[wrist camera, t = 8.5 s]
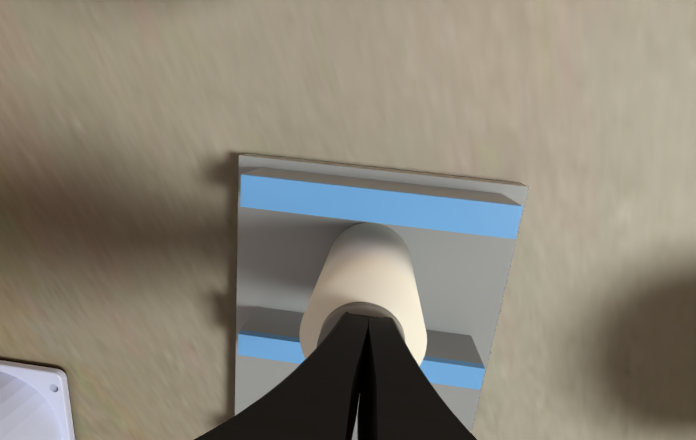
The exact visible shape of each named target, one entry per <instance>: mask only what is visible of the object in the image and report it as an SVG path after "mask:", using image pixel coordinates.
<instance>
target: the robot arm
mask: <svg viewBox="0 0 696 440" xmlns="http://www.w3.org/2000/svg"><path fill="white" fill-rule="evenodd" d="M368 320H369V322H368ZM359 394H360V395H359ZM358 402H359V405H358ZM357 410H358V415H357ZM356 417H357V440H477V439H476V438H475V437H474V436H473V435H472V434H471V433H470V432H469V431H468V429H467V428H466V427H465V426H464V425H463V424H462V423H461V421H460V420H459V419H458V418H457V417H456V416H455V415H454V413H453V412H452V411H451V410H450V409H449V407H448V406H447V405H446V404H445V402H444V401H443V400H442V398H441V397H440V396H439V394H438V393H437V392H436V390H435V389H434V387H433V386H432V385H431V383H430V382H429V380H428V379H427V377H426V376H425V374H424V373H423V371H422V370H421V368H420V367H419V365H418V363H417V362H416V360H415V359H414V357H413V355H412V354H411V352H410V350H409V348H408V347H407V345H406V343H405V341H404V339H403V337H402V335H401V333H400V331H399V329H398V327H397V325H396V323H395V321H394V320H393V318H391V317H381V318H380V317H373V316H365V315H358V314H351V313H348V312H347V311H346V312H345V313H344V314H343V315H342V316H341V317H340V319H339V320H338V322H337V323H336V325H335V326H334V328H333V329H332V330H331V331H330V333H329V334H328V335H327V336H326V338H325V339H324V340H323V341H322V342H321V343H320V344H319V346H318V347H317V348H316V349H315V350H314V351H313V352H312V353H311V354H310V355H309V356H308V357H307V358H306V359H305V360H304V361H303V362H302V363H301V364H300V365H299V366H298V367H297V368H296V369H295V370H294V371H293V372H292V373H291V374H290V375H288V376H287V377H286V378H285V379H284V380H283V381H282V382H280V383H279V384H278V385H277V386H275V387H274V388H273V389H272V390H270V391H269V392H268V393H267V394H265V395H264V396H263V397H261V398H260V399H258V400H257V401H256V402H254V403H253V404H251V405H250V406H248V407H247V408H246V409H244V410H243V411H241V412H240V413H238V414H237V415H235V416H234V417H232V418H231V419H229V420H228V421H226V422H224V423H223V424H221V425H219V426H218V427H216V428H214V429H212V430H211V431H209V432H207V433H205V434H204V435H202V436H200V437H198V438H196V439H194V440H352V437H353V432H354V427H355V422H356ZM0 440H75V435H74V428H73V420H72V413H71V406H70V398H69V391H68V383H67V376H66V374H65V373H64V372H63V371H62V370H60V369H55V368H49V367H42V366H35V365H29V364H22V363H16V362H9V361H3V360H0Z"/></svg>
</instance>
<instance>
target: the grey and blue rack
mask: <svg viewBox="0 0 696 440" xmlns="http://www.w3.org/2000/svg"><path fill="white" fill-rule="evenodd" d="M528 190H529V186H526V185H524V184H522V183H517V182H507V181H498V180H489V179H480V178H471V177H461V176H452V175H443V174H434V173H425V172H415V171H406V170H397V169H388V168H378V167H369V166H360V165H351V164H342V163H332V162H323V161H314V160H305V159H296V158H286V157H277V156H268V155H259V154H250V153H246V154H242V155H239V169H238V235H237V301H236V367H235V415H237V414H238V413H240V412H241V411H243V410H244V409H246V408H247V407H248V406H250V405H251V404H253V403H254V402H256V401H257V400H258V399H260V398H261V397H263V396H264V395H265V394H267V393H268V392H269V391H270V390H272V389H273V388H274V387H275V386H277V385H278V384H279V383H280V382H282V381H283V380H284V379H285V378H286V377H287V376H288V375H290V374H291V373H292V372H293V371H294V370H295V369H296V368H297V367H298V366H299V365H300V364H301V363H302V362H303V361H304V360H305V357H304V355H303V352H302V349H301V345H300V336H299V332H300V324H301V321H302V318H303V315H304V313H305V310H306V308H307V305H308V303H309V301H310V298H311V296H312V293H313V291H314V288H315V286H316V283H317V281H318V279H319V276H320V274H321V271H322V269H323V266H324V264H325V261H326V259H327V257H328V254H329V252H330V249H331V247H332V245H333V243H334V241H335V239H336V238H337V237H338V236H339V235H340V234H341V233H342V232H343V231H344V230H346V229H347V228H349V227H351V226H353V225H356V224H360V223H378V224H382V225H385V226H387V227H389V228H391V229H392V230H394V231H395V232H396V233H398V234H399V235H400V236H401V237H402V239H403V240H404V241H405V243H406V245H407V247H408V250H409V253H410V258H411V262H412V267H413V272H414V277H415V281H416V286H417V291H418V296H419V300H420V305H421V310H422V314H423V319H424V324H425V329H426V333H427V347H426V352H425V356H424V358H423V361H422V363H421V365H420V366H419V367H420V368H421V370H422V371H423V373H424V374H425V376H426V377H427V379H428V380H429V382H430V383H431V385H432V386H433V387H434V389H435V390H436V392H437V393H438V394H439V396H440V397H441V398H442V400H443V401H444V402H445V404H446V405H447V406H448V407H449V409H450V410H451V411H452V412H453V413H454V415H455V416H456V417H457V418H458V419H459V420H460V421H461V423H462V424H463V425H464V426H465V427H466V428H467V429H468V431H469V432H470V433H472V428H473V424H474V420H475V416H476V411H477V407H478V403H479V399H480V394H481V390H482V386H483V382H484V377H485V373H486V369H487V365H488V360H489V356H490V352H491V348H492V343H493V339H494V335H495V331H496V326H497V322H498V318H499V314H500V309H501V305H502V301H503V297H504V292H505V288H506V284H507V280H508V275H509V271H510V267H511V263H512V258H513V254H514V250H515V246H516V241H517V237H518V233H519V229H520V224H521V220H522V216H523V212H524V207H525V203H526V199H527V195H528ZM359 395H360V394H359ZM358 405H359V402H358ZM357 415H358V410H357ZM352 440H357V417H356V422H355V427H354V432H353V437H352Z"/></svg>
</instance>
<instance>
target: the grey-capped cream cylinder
mask: <svg viewBox="0 0 696 440" xmlns="http://www.w3.org/2000/svg"><path fill="white" fill-rule="evenodd" d="M346 311H347V312H348V313H351V314H358V315H365V316H373V317H380V318H381V317H391V318H393V320H394V321H395V323H396V325H397V327H398V329H399V331H400V333H401V335H402V337H403V339H404V341H405V343H406V345H407V347H408V348H409V350H410V352H411V354H412V355H413V357H414V359H415V360H416V362H417V363H418V365H419V366H420V365H421V363H422V361H423V358H424V356H425V352H426V347H427V333H426V329H425V324H424V319H423V314H422V310H421V305H420V300H419V296H418V291H417V286H416V281H415V277H414V272H413V267H412V262H411V258H410V253H409V250H408V247H407V245H406V243H405V241H404V240H403V239H402V237H401V236H400V235H399V234H398V233H396V232H395V231H394V230H392V229H391V228H389V227H387V226H385V225H382V224H378V223H360V224H356V225H353V226H351V227H349V228H347V229H346V230H344V231H343V232H342V233H341V234H340V235H339V236H338V237H337V238H336V239H335V241H334V243H333V245H332V247H331V249H330V252H329V254H328V257H327V259H326V261H325V264H324V266H323V269H322V271H321V274H320V276H319V279H318V281H317V283H316V286H315V288H314V291H313V293H312V296H311V298H310V301H309V303H308V305H307V308H306V310H305V313H304V315H303V318H302V321H301V324H300V332H299V336H300V345H301V349H302V352H303V355H304V357H305V359H306V358H307V357H308V356H309V355H310V354H311V353H312V352H313V351H314V350H315V349H316V348H317V347H318V346H319V344H320V343H321V342H322V341H323V340H324V339H325V338H326V336H327V335H328V334H329V333H330V331H331V330H332V329H333V328H334V326H335V325H336V323H337V322H338V320H339V319H340V317H341V316H342V315H343V314H344V313H345V312H346ZM368 322H369V320H368Z"/></svg>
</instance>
